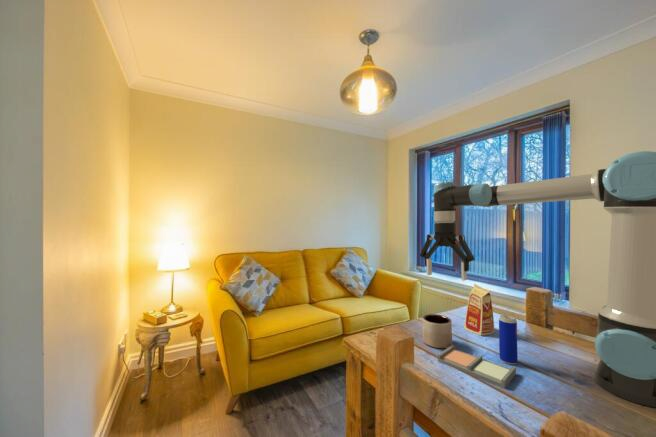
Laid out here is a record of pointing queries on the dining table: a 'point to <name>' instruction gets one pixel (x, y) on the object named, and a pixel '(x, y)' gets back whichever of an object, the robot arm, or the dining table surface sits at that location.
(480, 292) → the milk carton
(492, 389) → the dining table surface
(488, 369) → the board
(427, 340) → the planter
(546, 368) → the dining table surface
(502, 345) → the beverage can
